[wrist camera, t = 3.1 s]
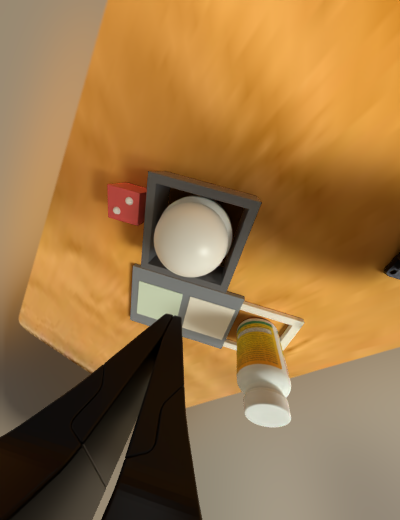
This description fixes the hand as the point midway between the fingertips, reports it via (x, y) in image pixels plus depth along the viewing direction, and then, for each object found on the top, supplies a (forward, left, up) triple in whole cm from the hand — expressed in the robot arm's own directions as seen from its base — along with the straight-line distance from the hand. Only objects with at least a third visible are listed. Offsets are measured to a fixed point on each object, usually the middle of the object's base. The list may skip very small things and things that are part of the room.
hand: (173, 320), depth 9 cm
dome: (+1, -1, -11) cm, 11 cm away
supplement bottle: (-10, +11, -12) cm, 19 cm away
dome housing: (+3, -1, -12) cm, 12 cm away
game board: (-3, +11, -12) cm, 16 cm away
